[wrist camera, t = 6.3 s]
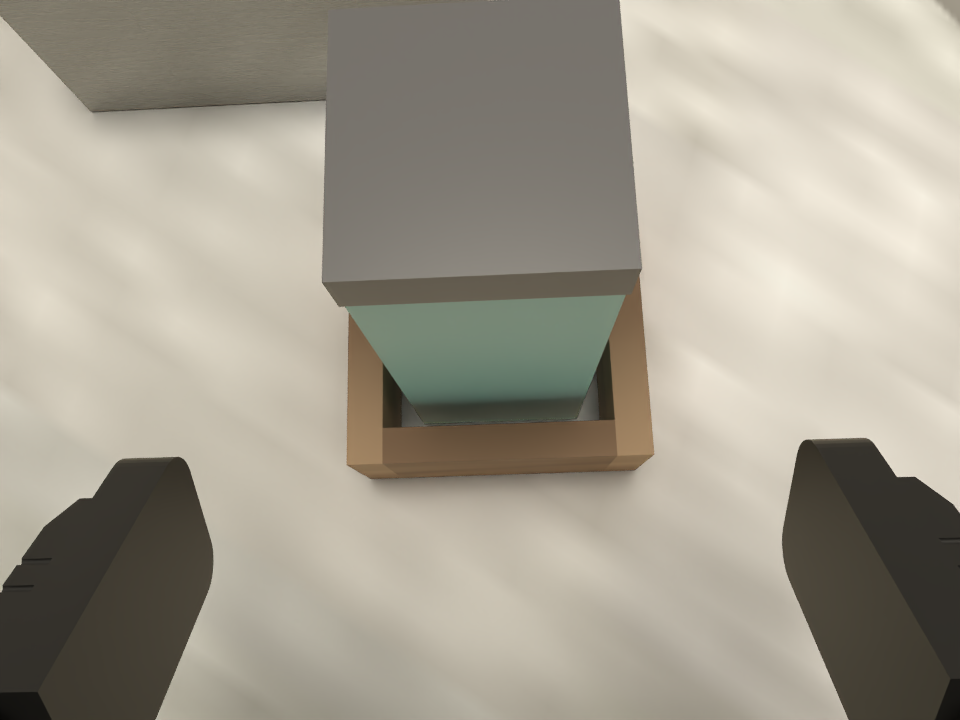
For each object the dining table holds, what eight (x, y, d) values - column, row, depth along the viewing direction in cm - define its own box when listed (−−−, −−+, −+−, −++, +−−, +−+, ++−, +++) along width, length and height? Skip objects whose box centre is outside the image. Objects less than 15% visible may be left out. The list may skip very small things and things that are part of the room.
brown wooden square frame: (634, 470, 20) (654, 454, 17) (370, 478, 21) (346, 465, 18) (615, 224, 22) (630, 172, 19) (372, 235, 22) (350, 186, 19)
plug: (578, 420, 21) (642, 268, 10) (422, 425, 21) (321, 282, 10) (569, 272, 22) (618, -7, 11) (420, 278, 22) (328, 9, 11)
